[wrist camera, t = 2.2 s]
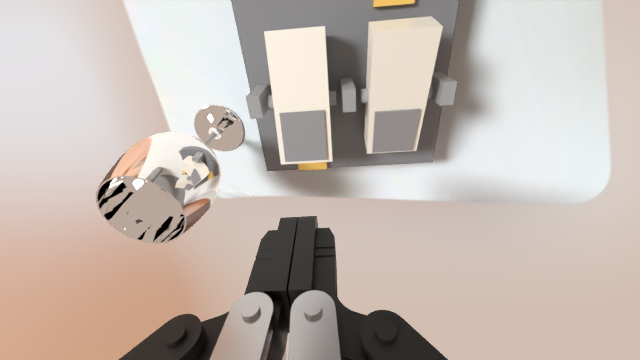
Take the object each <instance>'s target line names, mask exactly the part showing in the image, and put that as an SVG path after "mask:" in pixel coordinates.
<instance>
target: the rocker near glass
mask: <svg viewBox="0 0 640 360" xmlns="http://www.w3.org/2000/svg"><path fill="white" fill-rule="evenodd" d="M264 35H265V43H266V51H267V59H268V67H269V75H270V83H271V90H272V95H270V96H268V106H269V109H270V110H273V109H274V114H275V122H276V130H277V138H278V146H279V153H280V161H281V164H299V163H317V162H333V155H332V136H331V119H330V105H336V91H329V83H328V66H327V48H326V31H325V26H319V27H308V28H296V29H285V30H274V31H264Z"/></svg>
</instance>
